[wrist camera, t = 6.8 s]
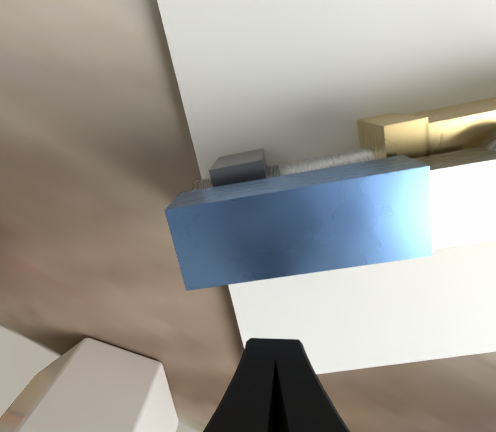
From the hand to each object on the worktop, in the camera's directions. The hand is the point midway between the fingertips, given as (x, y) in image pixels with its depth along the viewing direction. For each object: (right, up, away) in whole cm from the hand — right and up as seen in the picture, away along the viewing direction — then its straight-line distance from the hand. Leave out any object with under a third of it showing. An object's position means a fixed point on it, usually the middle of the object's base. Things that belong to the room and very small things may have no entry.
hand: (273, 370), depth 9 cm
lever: (+4, +5, +3) cm, 6 cm away
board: (+7, +5, +7) cm, 11 cm away
